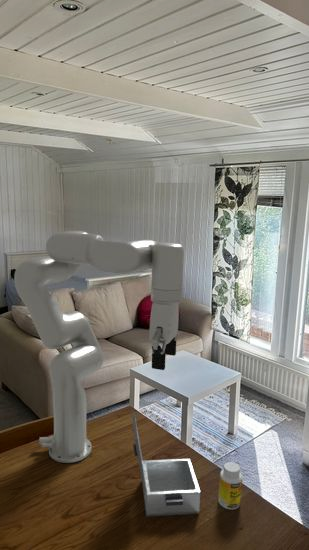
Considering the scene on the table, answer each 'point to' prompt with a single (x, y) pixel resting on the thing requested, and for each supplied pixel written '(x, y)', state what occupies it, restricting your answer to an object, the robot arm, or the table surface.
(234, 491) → the supplement bottle
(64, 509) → the table surface
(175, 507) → the cooker pot
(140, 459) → the lid
